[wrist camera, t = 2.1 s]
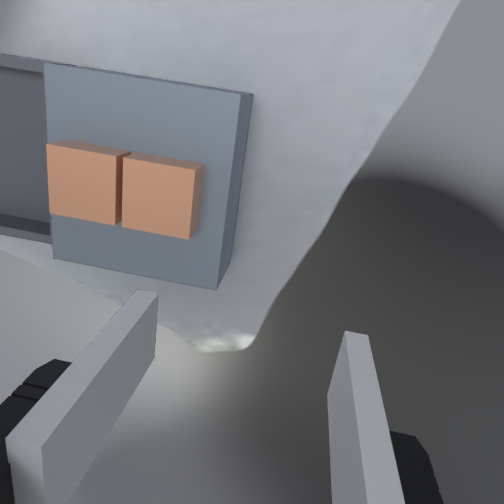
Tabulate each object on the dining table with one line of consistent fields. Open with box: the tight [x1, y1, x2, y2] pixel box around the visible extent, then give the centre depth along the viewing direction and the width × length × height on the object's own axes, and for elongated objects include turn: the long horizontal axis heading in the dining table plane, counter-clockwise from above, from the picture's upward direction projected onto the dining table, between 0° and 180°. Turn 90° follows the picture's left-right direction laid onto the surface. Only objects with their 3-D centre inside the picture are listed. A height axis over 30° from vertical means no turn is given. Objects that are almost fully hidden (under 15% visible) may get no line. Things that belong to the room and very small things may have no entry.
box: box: [0, 53, 76, 244], centre depth 35 cm, size 12×15×4 cm
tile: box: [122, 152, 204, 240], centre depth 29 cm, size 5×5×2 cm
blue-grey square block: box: [44, 63, 253, 291], centre depth 33 cm, size 14×15×6 cm
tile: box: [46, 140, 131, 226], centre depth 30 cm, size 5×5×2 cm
